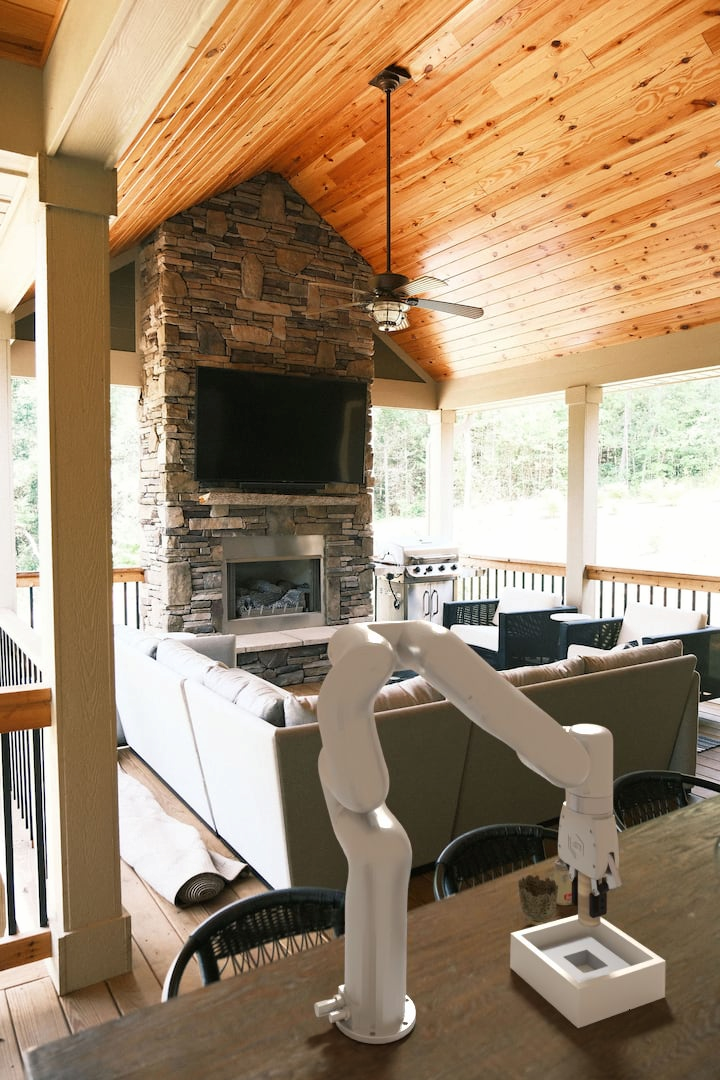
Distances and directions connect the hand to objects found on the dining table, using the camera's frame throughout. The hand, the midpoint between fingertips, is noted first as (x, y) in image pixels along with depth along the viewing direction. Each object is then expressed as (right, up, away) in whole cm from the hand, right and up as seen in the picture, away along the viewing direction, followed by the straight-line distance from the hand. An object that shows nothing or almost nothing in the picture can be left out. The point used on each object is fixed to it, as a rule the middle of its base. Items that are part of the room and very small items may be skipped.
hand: (588, 908), depth 126 cm
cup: (-4, -12, +18) cm, 22 cm away
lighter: (+4, -12, +27) cm, 30 cm away
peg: (0, -2, 0) cm, 2 cm away
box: (-1, -12, 0) cm, 12 cm away
